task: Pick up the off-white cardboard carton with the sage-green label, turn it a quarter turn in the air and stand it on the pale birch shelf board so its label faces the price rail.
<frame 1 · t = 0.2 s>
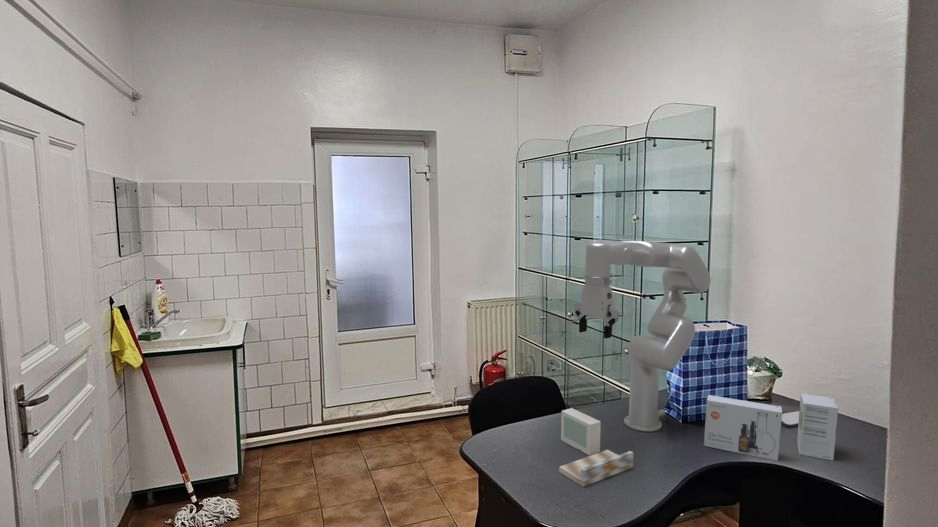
hand: (594, 334, 177), 36 cm above the table, tool pointing down, fingers open, 9 cm apart
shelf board: (596, 469, 163), on the table
skincare box: (740, 451, 175), on the table
carton: (579, 445, 179), on the table
supplement box: (814, 452, 174), on the table
phone case: (793, 422, 198), on the table
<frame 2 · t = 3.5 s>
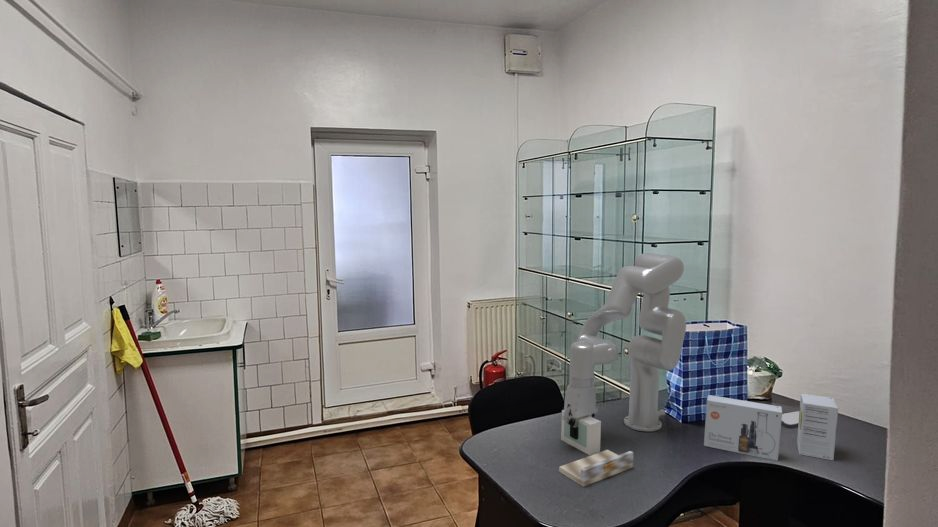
hand: (580, 435, 178), 3 cm above the table, tool pointing down, fingers closed on carton, 4 cm apart
carton: (580, 445, 179), on the table, touching gripper
everything else where it was.
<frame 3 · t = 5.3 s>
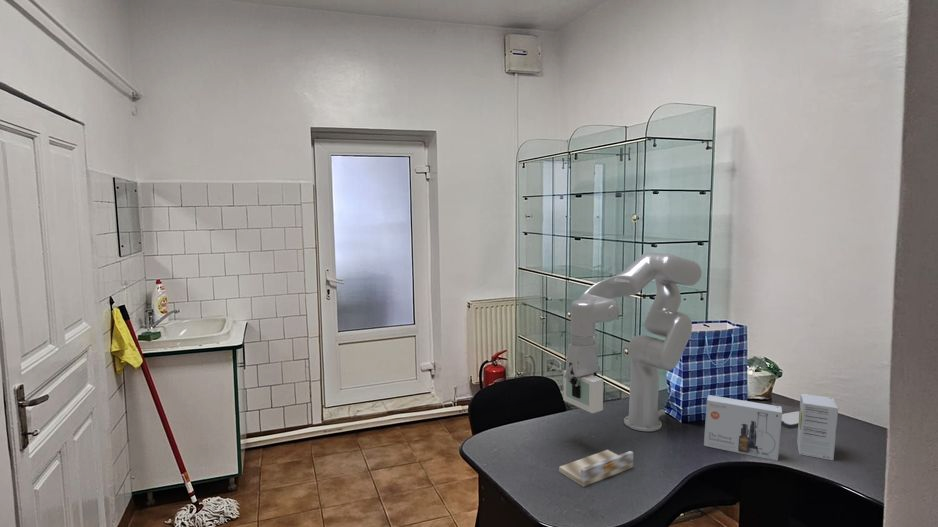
hand: (582, 394, 177), 17 cm above the table, tool pointing down, fingers closed on carton, 4 cm apart
carton: (582, 405, 177), point 13 cm above the table, touching gripper
everything else where it was.
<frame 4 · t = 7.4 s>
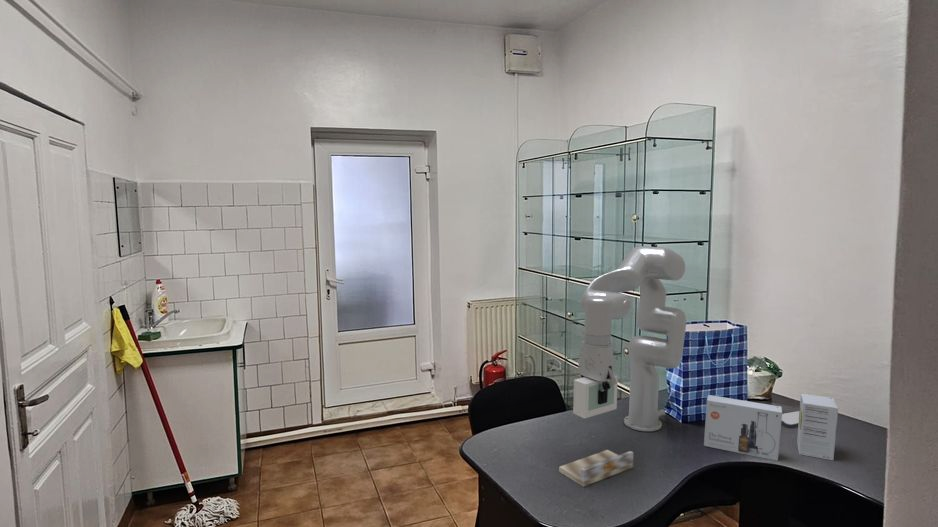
hand: (595, 399, 161), 21 cm above the table, tool pointing down, fingers closed on carton, 4 cm apart
carton: (595, 411, 162), point 18 cm above the table, touching gripper
everything else where it was.
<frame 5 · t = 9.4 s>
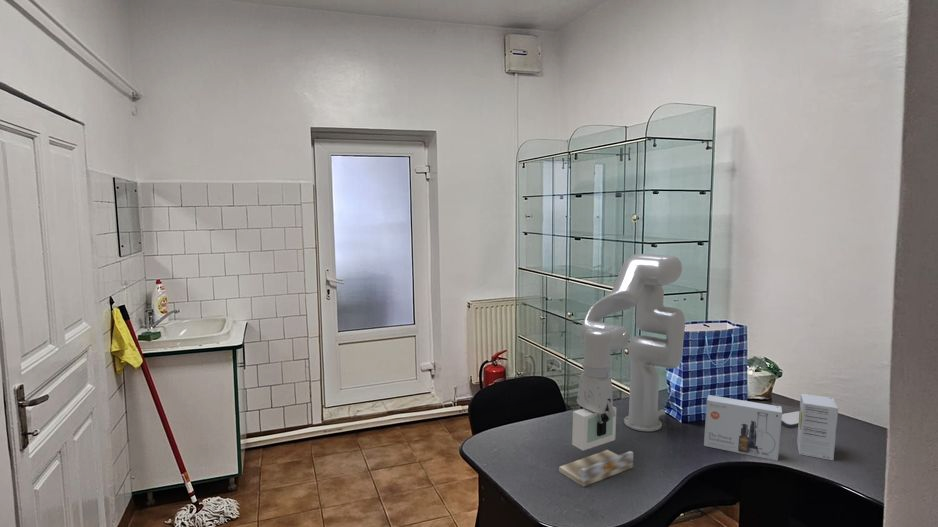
hand: (594, 431, 162), 12 cm above the table, tool pointing down, fingers closed on carton, 4 cm apart
carton: (593, 442, 163), point 8 cm above the table, touching gripper
everything else where it was.
when the fingers open (6 cm above the table, at t = 11.2 s): carton stays where it is, resting on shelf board.
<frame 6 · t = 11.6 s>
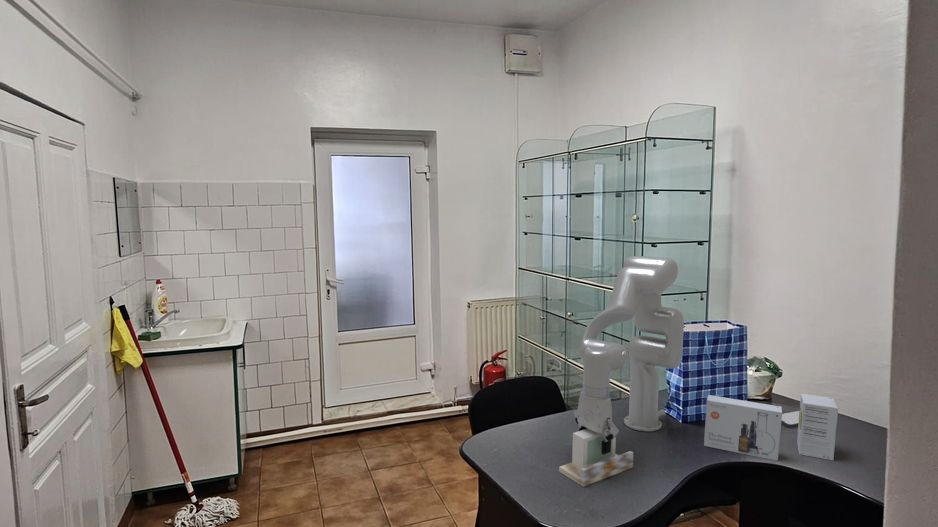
hand: (594, 446, 163), 7 cm above the table, tool pointing down, fingers open, 8 cm apart
carton: (593, 463, 164), point 1 cm above the table, touching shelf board
everything else where it was.
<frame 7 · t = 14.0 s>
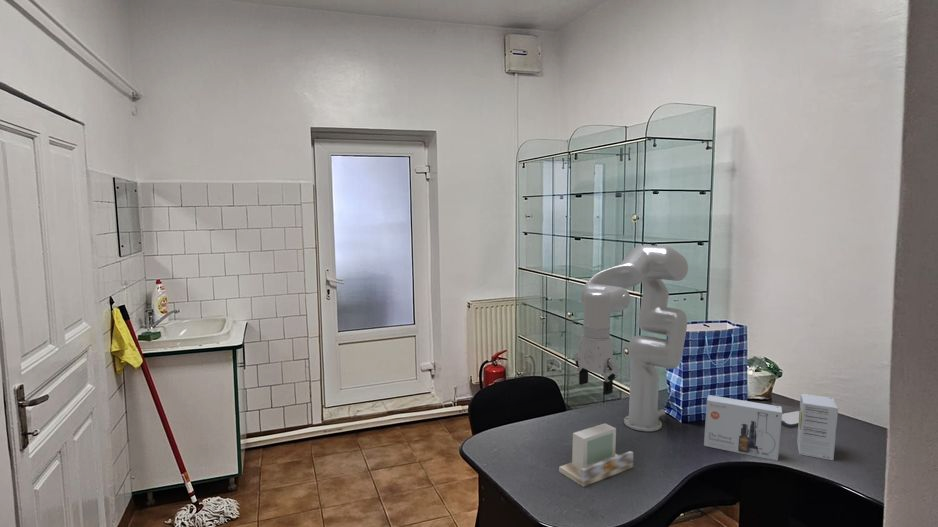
hand: (595, 388, 164), 23 cm above the table, tool pointing down, fingers open, 9 cm apart
nothing on the table moved.
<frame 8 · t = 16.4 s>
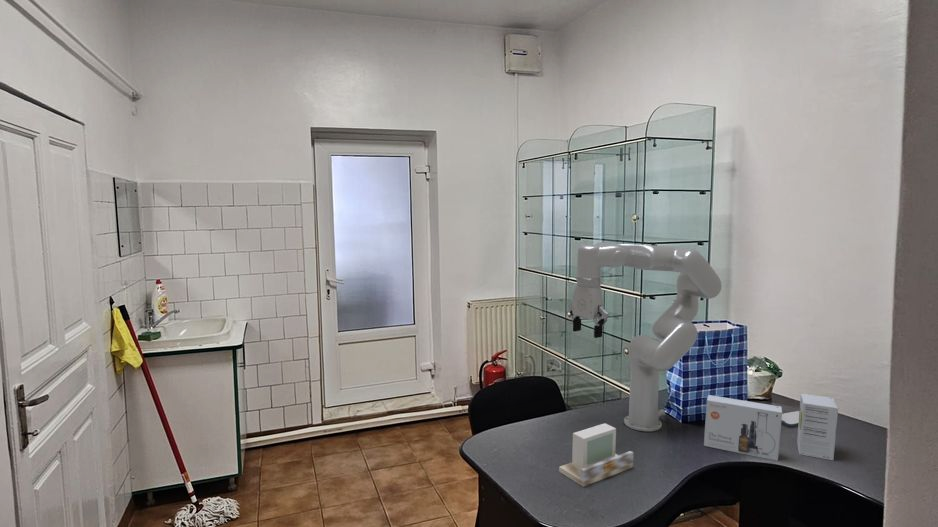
hand: (587, 334, 183), 34 cm above the table, tool pointing down, fingers open, 9 cm apart
nothing on the table moved.
at the end: carton inside the target area on the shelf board (0.1 cm from its centre), point 1.5 cm above the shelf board's base; carton tilted 0°; the gripper is holding nothing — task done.
